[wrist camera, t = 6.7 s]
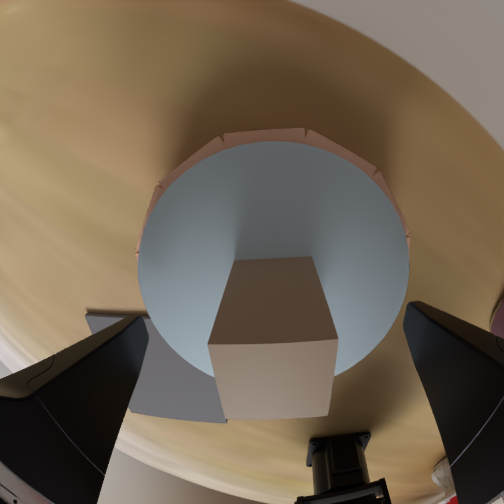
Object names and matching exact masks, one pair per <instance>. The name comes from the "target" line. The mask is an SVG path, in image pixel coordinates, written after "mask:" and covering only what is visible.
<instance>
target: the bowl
mask: <svg viewBox="0 0 504 504" xmlns="http://www.w3.org/2000/svg"><path fill="white" fill-rule="evenodd" d="M223 135H224V137H222V136H217V137H216V138H214V139H213V140H211V141H210V142H209V143H207V144H206V145H205V146H203V147H202V148H201V149H199V150H198V151H197V152H196V153H194V154H193V155H192V156H190V157H189V158H188V159H186V160H185V161H184V162H183V163H181V164H180V165H179V166H178V167H176V168H175V169H174V170H173V171H172V172H170V173H169V174H168V175H167V176H165V177H164V178H163V179H162V180H161V181H159V183H160V185H158V186H156V187H155V190H154V193H153V196H152V199H151V202H150V205H149V208H148V210H147V214H146V217H145V220H144V223H143V226H142V229H141V232H140V236H139V239H138V242H137V246H136V250H138V252H137V253H135V254H136V258H137V263H138V255H139V246H140V242H141V238H142V234H143V230H144V228H145V225H146V223H147V220H148V218H149V215H150V214H151V212H152V210H153V208H154V207H155V205H156V203H157V202H158V200H159V199H160V197H161V196H162V195H163V194H164V192H165V191H166V190H167V189H168V187H169V186H170V185H171V184H172V183H173V182H174V181H175V180H176V179H177V178H179V177H180V176H181V175H182V174H183V173H184V172H185V171H187V170H188V169H190V168H191V167H192V166H194V165H195V164H197V163H198V162H200V161H202V160H203V159H205V158H207V157H209V156H212V155H214V154H216V153H218V152H220V151H223V150H226V149H229V148H232V147H236V146H239V145H243V144H249V143H256V142H263V141H286V142H293V143H300V144H306V145H310V146H314V147H317V148H320V149H323V150H326V151H329V152H331V153H333V154H335V155H337V156H339V157H342V158H344V159H346V160H348V161H349V162H350V163H352V164H353V165H355V166H356V167H358V168H359V169H361V170H362V171H363V172H365V173H366V174H367V175H368V176H369V177H370V178H371V179H372V180H373V181H374V182H375V183H376V184H377V185H378V186H379V187H380V188H381V189H382V191H383V192H384V193H385V194H386V196H387V197H388V198H389V200H390V201H391V203H392V205H393V207H394V208H395V210H396V212H397V214H398V216H399V218H400V221H401V223H402V226H403V229H404V231H405V235H406V240H407V245H408V250H409V248H410V237H409V236H408V234H409V233H410V232H409V230H408V228H407V225H406V223H405V221H404V219H403V216H402V214H401V212H400V210H399V208H398V206H397V204H396V201H395V199H394V197H393V195H392V193H391V191H390V189H389V187H388V185H387V183H386V181H385V179H384V178H383V176H382V174H381V172H380V171H377V170H376V168H377V167H375V166H374V165H372V164H370V163H369V162H367V161H366V160H364V159H362V158H361V157H359V156H357V155H356V154H354V153H352V152H351V151H349V150H347V149H345V148H344V147H342V146H340V145H338V144H337V143H335V142H333V141H331V140H330V139H328V138H326V137H324V136H322V135H320V134H318V133H317V132H315V131H313V130H311V129H309V130H307V131H304V128H284V129H267V130H254V131H243V132H233V133H224V134H223Z"/></svg>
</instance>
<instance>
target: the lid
mask: <svg viewBox="0 0 504 504" xmlns="http://www.w3.org/2000/svg"><path fill="white" fill-rule="evenodd" d="M138 278H139V285H140V290H141V295H142V298H143V301H144V304H145V307H146V310H147V312H148V314H149V316H150V318H151V320H152V322H153V324H154V325H155V327H156V328H157V330H158V331H159V333H160V334H161V336H162V337H163V338H164V340H165V341H166V342H167V343H168V344H169V345H170V347H171V348H172V349H173V350H174V351H176V352H177V353H178V354H179V355H180V356H181V357H182V358H183V359H185V360H186V361H187V362H189V363H190V364H191V365H193V366H194V367H196V368H198V369H199V370H201V371H203V372H204V373H206V374H208V375H210V376H213V377H215V380H216V384H217V388H218V392H219V396H220V400H221V404H222V408H223V411H224V415H225V419H241V420H268V419H294V418H309V417H320V416H328V411H329V405H330V399H331V393H332V387H333V380H334V376H336V375H338V374H340V373H342V372H344V371H345V370H347V369H349V368H351V367H352V366H353V365H355V364H356V363H358V362H359V361H361V360H362V359H363V358H364V357H365V356H367V355H368V354H369V353H370V352H371V351H372V350H373V349H374V348H375V347H376V346H377V345H378V344H379V343H380V341H381V340H382V339H383V338H384V337H385V335H386V334H387V332H388V331H389V329H390V328H391V327H392V325H393V323H394V321H395V319H396V317H397V316H398V314H399V311H400V309H401V306H402V303H403V301H404V298H405V294H406V290H407V285H408V278H409V250H408V245H407V240H406V235H405V231H404V229H403V226H402V223H401V221H400V218H399V216H398V214H397V212H396V210H395V208H394V207H393V205H392V203H391V201H390V200H389V198H388V197H387V196H386V194H385V193H384V192H383V191H382V189H381V188H380V187H379V186H378V185H377V184H376V183H375V182H374V181H373V180H372V179H371V178H370V177H369V176H368V175H367V174H366V173H365V172H363V171H362V170H361V169H359V168H358V167H356V166H355V165H353V164H352V163H350V162H349V161H348V160H346V159H344V158H342V157H339V156H337V155H335V154H333V153H331V152H329V151H326V150H323V149H320V148H317V147H314V146H310V145H306V144H300V143H293V142H286V141H263V142H256V143H249V144H243V145H239V146H236V147H232V148H229V149H226V150H223V151H220V152H218V153H216V154H214V155H212V156H209V157H207V158H205V159H203V160H202V161H200V162H198V163H197V164H195V165H194V166H192V167H191V168H190V169H188V170H187V171H185V172H184V173H183V174H182V175H181V176H180V177H179V178H177V179H176V180H175V181H174V182H173V183H172V184H171V185H170V186H169V187H168V189H167V190H166V191H165V192H164V194H163V195H162V196H161V197H160V199H159V200H158V202H157V203H156V205H155V207H154V208H153V210H152V212H151V214H150V215H149V218H148V220H147V223H146V225H145V228H144V230H143V234H142V238H141V242H140V246H139V255H138Z"/></svg>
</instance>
